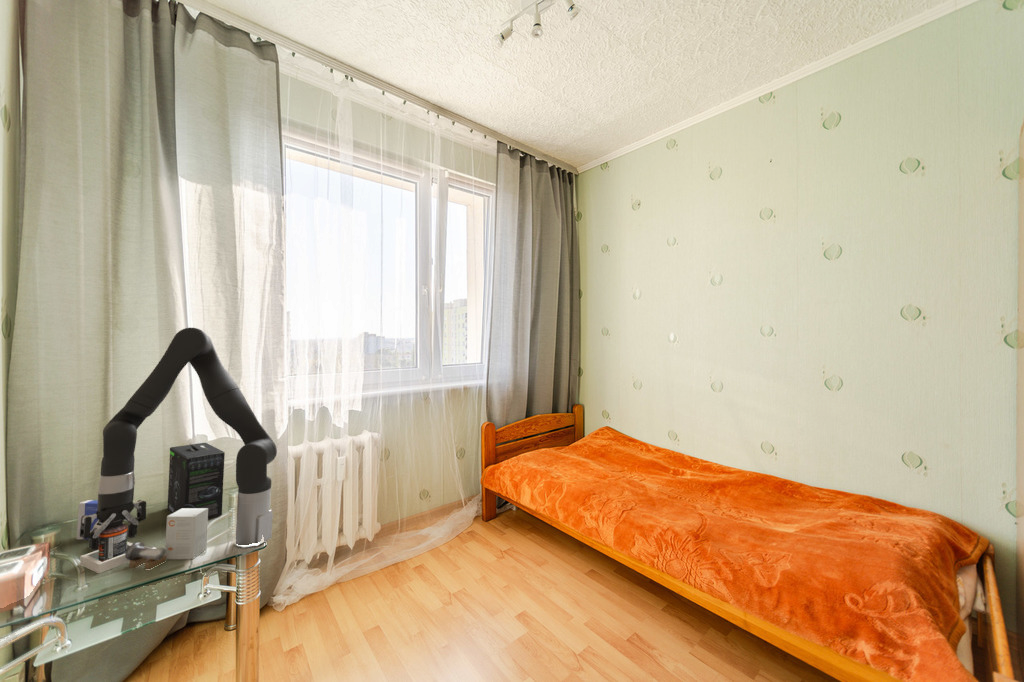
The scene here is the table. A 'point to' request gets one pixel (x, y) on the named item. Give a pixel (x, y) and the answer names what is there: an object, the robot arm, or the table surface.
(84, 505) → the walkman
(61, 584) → the table surface
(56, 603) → the table surface
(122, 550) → the supplement bottle
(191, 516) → the small box
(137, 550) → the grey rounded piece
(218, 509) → the headset box
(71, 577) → the table surface
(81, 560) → the shallow white dish
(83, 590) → the table surface
